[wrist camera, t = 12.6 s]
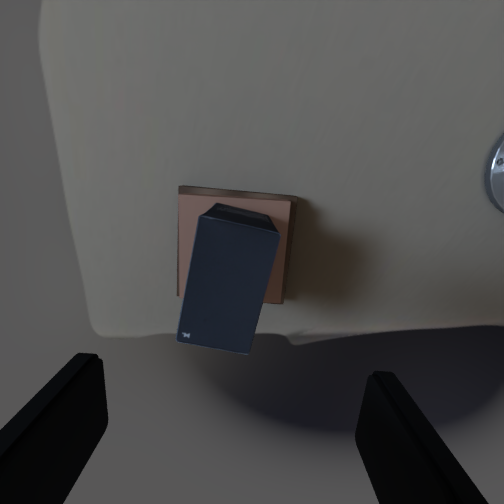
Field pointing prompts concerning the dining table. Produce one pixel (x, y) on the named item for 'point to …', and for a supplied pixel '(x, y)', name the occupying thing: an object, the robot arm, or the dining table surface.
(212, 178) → the dining table surface
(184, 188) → the walnut slab
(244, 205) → the terracotta slab
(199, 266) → the small box
